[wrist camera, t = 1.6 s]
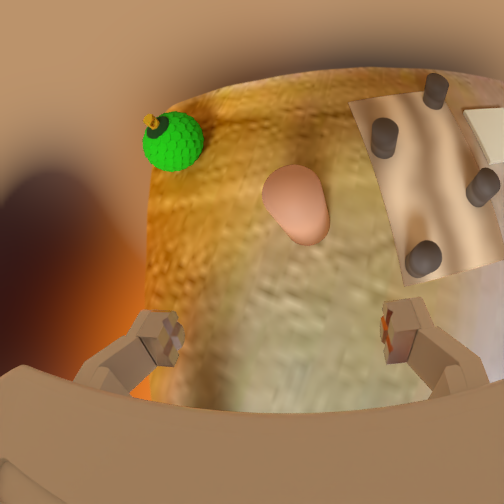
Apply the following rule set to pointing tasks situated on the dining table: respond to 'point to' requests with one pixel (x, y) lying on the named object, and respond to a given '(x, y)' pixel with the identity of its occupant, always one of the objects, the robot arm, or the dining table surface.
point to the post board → (430, 183)
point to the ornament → (172, 141)
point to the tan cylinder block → (297, 203)
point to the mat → (488, 131)
